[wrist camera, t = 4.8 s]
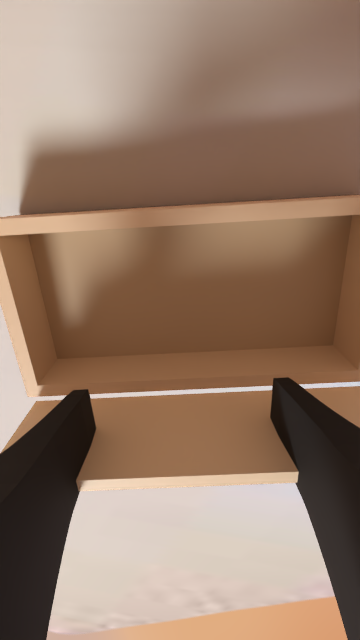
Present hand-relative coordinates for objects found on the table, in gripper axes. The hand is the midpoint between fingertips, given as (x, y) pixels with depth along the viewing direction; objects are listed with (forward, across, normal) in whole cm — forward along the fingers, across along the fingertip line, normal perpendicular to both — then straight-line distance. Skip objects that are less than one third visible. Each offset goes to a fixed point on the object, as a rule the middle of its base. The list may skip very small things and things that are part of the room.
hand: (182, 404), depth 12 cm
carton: (+5, -1, -3) cm, 6 cm away
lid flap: (0, -1, +1) cm, 1 cm away
